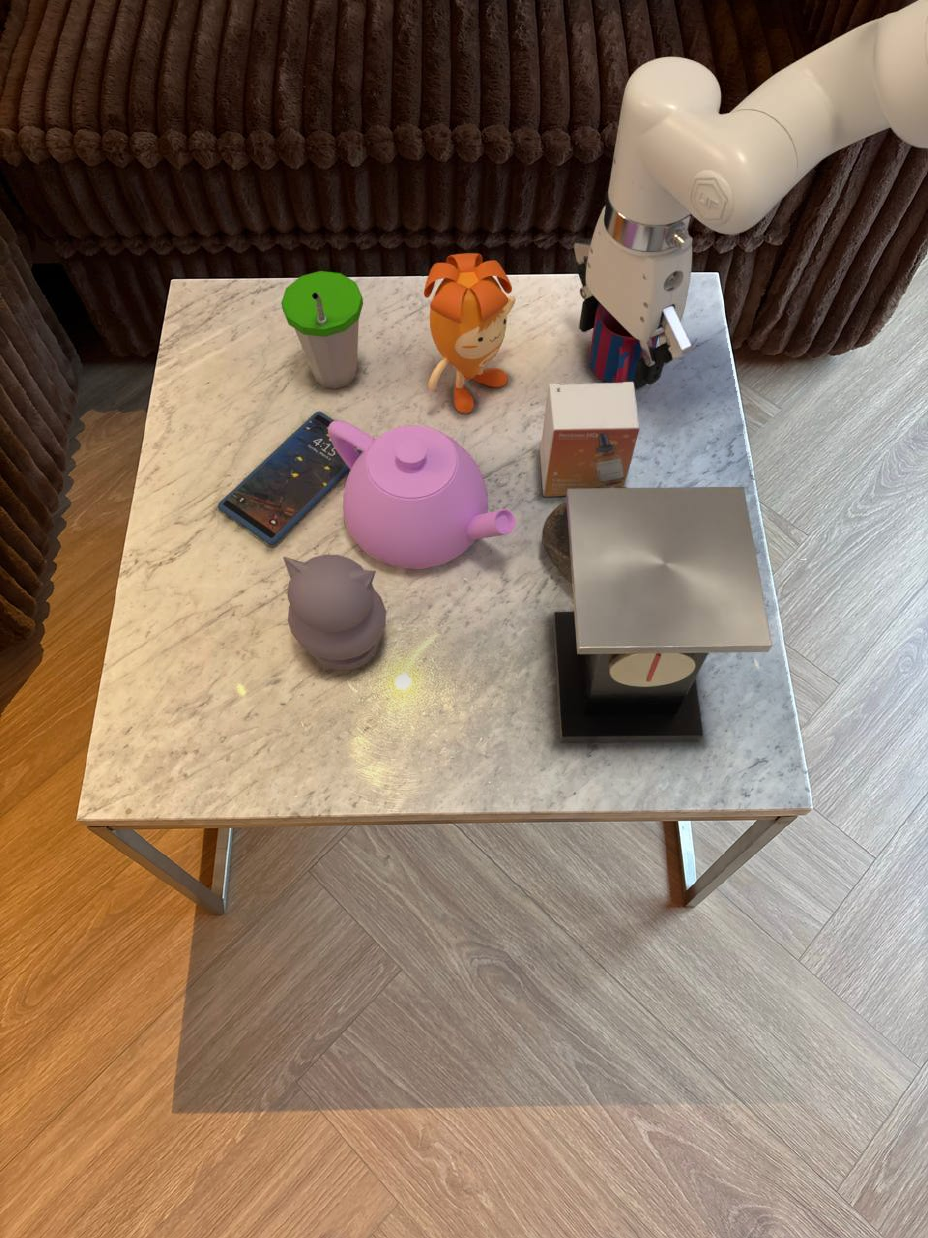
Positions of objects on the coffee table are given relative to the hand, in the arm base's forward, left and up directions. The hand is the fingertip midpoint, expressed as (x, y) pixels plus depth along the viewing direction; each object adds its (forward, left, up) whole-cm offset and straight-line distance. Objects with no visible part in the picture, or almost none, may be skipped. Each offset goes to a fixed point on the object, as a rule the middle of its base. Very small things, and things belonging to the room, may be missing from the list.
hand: (618, 352), depth 98 cm
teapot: (+27, +5, -3) cm, 28 cm away
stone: (+15, +18, -3) cm, 23 cm away
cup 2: (0, 0, -3) cm, 3 cm away
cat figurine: (+40, +12, -3) cm, 42 cm away
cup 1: (+25, -16, -3) cm, 30 cm away
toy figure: (+14, -7, -3) cm, 16 cm away
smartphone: (+35, -6, -3) cm, 36 cm away
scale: (+21, +29, -3) cm, 36 cm away
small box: (+11, +9, -3) cm, 14 cm away
